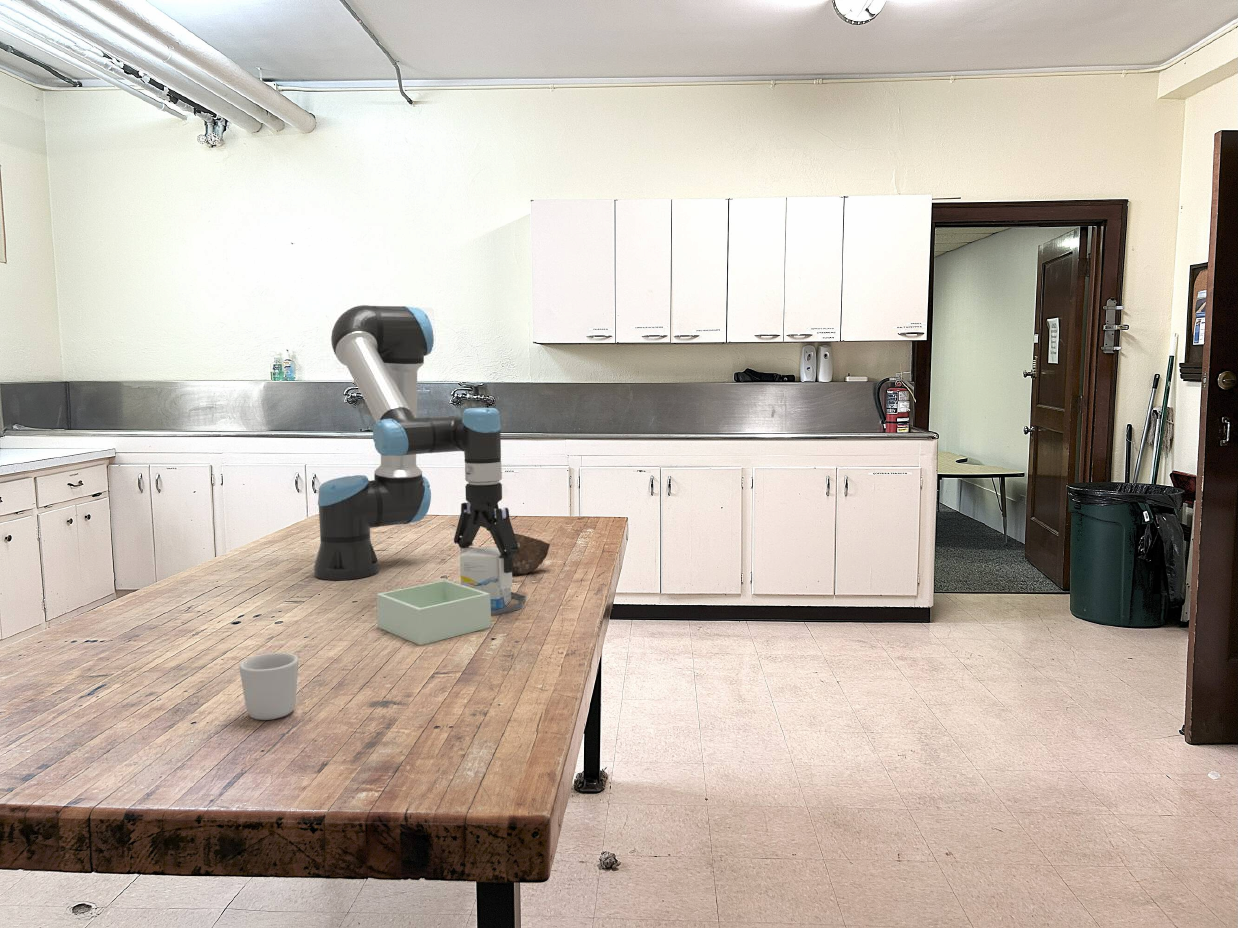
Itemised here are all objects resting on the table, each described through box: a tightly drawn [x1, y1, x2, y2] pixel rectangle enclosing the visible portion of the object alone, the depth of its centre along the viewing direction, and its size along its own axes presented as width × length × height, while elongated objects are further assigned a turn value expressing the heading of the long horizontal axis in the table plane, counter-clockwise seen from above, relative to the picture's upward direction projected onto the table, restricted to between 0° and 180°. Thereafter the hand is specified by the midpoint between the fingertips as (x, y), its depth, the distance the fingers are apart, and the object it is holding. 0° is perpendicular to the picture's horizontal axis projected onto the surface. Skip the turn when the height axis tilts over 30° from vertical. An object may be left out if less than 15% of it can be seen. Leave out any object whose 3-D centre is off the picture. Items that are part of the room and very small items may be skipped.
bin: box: [375, 579, 492, 646], centre depth 170 cm, size 16×16×7 cm
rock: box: [512, 533, 551, 576], centre depth 213 cm, size 12×10×10 cm
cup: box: [239, 652, 299, 721], centre depth 130 cm, size 11×8×8 cm
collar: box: [491, 591, 526, 616], centre depth 186 cm, size 16×16×1 cm
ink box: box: [459, 546, 512, 609], centre depth 186 cm, size 9×8×12 cm
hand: (486, 582), depth 186 cm, fingers open, 13 cm apart
